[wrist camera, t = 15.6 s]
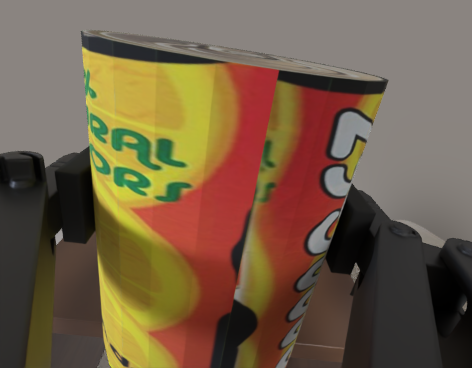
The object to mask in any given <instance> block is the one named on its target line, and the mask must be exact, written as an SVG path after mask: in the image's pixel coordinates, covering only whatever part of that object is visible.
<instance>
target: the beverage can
mask: <svg viewBox="0 0 472 368" xmlns="http://www.w3.org/2000/svg"><path fill="white" fill-rule="evenodd" d="M81 35H82V36H81V37H82V50H83V64H84V77H85V91H86V105H87V119H88V132H89V146H90V159H91V173H92V187H93V200H94V214H95V228H96V241H97V255H98V268H99V282H100V296H101V309H102V323H103V336H104V344H105V348H106V352H107V357H108V361H109V365H110V367H111V368H286V365H287V363H288V360H289V358H290V355H291V353H292V350H293V347H294V344H295V341H296V339H297V336H298V333H299V330H300V327H301V325H302V322H303V319H304V316H305V313H306V310H307V308H308V305H309V302H310V299H311V296H312V294H313V291H314V288H315V285H316V282H317V280H318V277H319V274H320V271H321V268H322V266H323V263H324V260H325V257H326V254H327V252H328V249H329V246H330V243H331V240H332V237H333V235H334V232H335V229H336V226H337V223H338V221H339V218H340V215H341V212H342V209H343V207H344V204H345V201H346V198H347V195H348V193H349V190H350V187H351V184H352V181H353V178H354V176H355V173H356V170H357V167H358V164H359V161H360V159H361V156H362V153H363V150H364V148H365V145H366V142H367V139H368V136H369V134H370V131H371V128H372V125H373V122H374V119H375V116H376V114H377V111H378V108H379V105H380V103H381V100H382V97H383V94H384V91H385V89H386V86H387V83H388V80H387V79H384V78H382V77H378V76H374V75H370V74H367V73H362V72H358V71H353V70H348V69H344V68H339V67H334V66H329V65H324V64H318V63H313V62H308V61H303V60H297V59H292V58H286V57H281V56H275V55H269V54H263V53H257V52H251V51H245V50H239V49H233V48H227V47H220V46H213V45H207V44H201V43H194V42H187V41H180V40H174V39H166V38H159V37H151V36H143V35H136V34H127V33H118V32H109V31H95V30H84V31H81Z"/></svg>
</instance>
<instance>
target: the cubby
mask: <svg viewBox="0 0 472 368" xmlns="http://www.w3.org/2000/svg"><path fill="white" fill-rule="evenodd" d="M353 286H354V281H353V279H352V277H351V275H348V274H339V273H331V271H330V269H329V266H328V264H327V262H326V259H325V260H324V263H323V266H322V268H321V271H320V274H319V277H318V280H317V282H316V285H315V288H314V291H313V294H312V296H311V299H310V302H309V305H308V308H307V310H306V313H305V316H304V319H303V322H302V325H301V327H300V330H299V333H298V336H297V339H296V341H295V344H294V347H293V350H292V353H291V355H290V358H289V360H288V363H287V365H286V368H341V366H342V360H343V354H344V348H345V342H346V337H347V331H348V325H349V319H350V313H351V307H352V302H353V296H354V295H353V296H351V295H350V293H351V291H352V288H353ZM104 350H105V344H104V336H103V323H102V309H101V296H100V282H99V268H98V255H97V241H96V231H95V232H94V233H93V235H92V236H91V238H90V239H89V240H88V242H87V243H86V244H81V243H72V242H64V240H63V239H62V240H61V241H60V242H59V243H58V244H57V245H56V263H55V284H54V305H53V327H52V348H51V368H97V366H98V363H99V361H100V359H101V357H102V354H103V352H104Z"/></svg>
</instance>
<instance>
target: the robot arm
mask: <svg viewBox="0 0 472 368" xmlns="http://www.w3.org/2000/svg"><path fill="white" fill-rule="evenodd" d="M61 228H62V232H63V240H64V242H72V243H81V244H86V243H87V242H88V240H89V239H90V238H91V236H92V235H93V233H94V232H95V231H96V228H95V214H94V200H93V187H92V173H91V159H90V146H89V147H87V148H86V149H85V150H83V151H82V152H80V153H71V154H68V155H65V156H63V157H61V158H60V159H58V160H57V161H56V162H54V163H52V164H51V165H50V166H48V167H46V168H45V165H44V159H43V156H42V155H41V154H39V153H36V152H30V151H16V152H8V153H3V154H0V368H51V348H52V327H53V305H54V284H55V263H56V240H55V235H56V234H57V233H58V232H59V231H60V229H61ZM325 259H326V262H327V264H328V266H329V269H330V271H331V273H339V274H348V275H351V272H352V270H353V268H354V265H355V263H357V265H358V267H359V269H360V272H359V274H358V277H357V279H356V281H355V284H354V286H353V288H352V291H351V293H350V295H351V296H353V295H354V296H353V302H352V307H351V313H350V319H349V325H348V331H347V337H346V342H345V348H344V354H343V360H342V366H341V368H472V242H470V241H464V240H461V239H456V238H450V239H447V241H446V242H445V244H444V246H443V247H442V248H439V247H436V246H433V245H429V244H426V243H423V242H422V238H421V236H420V234H419V233H418V232H417V231H416V230H414V229H413V228H411V227H409V226H408V225H405V224H403V223H401V222H397V221H393V220H390V219H389V217H388V216H387V215H386V214H385V213H384V212H383V211H382V209H380V207H379V206H378V205H377V204H376V202H375V201H374V200H373V199H372V198H371V197H370V196H369V195H367V194H366V193H364V192H363V191H361V190H357V189H356V188H355V187H354V185H353V184H351V187H350V190H349V193H348V195H347V198H346V201H345V204H344V207H343V209H342V212H341V215H340V218H339V221H338V223H337V226H336V229H335V232H334V235H333V237H332V240H331V243H330V246H329V249H328V252H327V254H326V257H325ZM466 301H467V309H466V311H464V310H463V308H462V307H463V306H464V304H465V303H466Z"/></svg>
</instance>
